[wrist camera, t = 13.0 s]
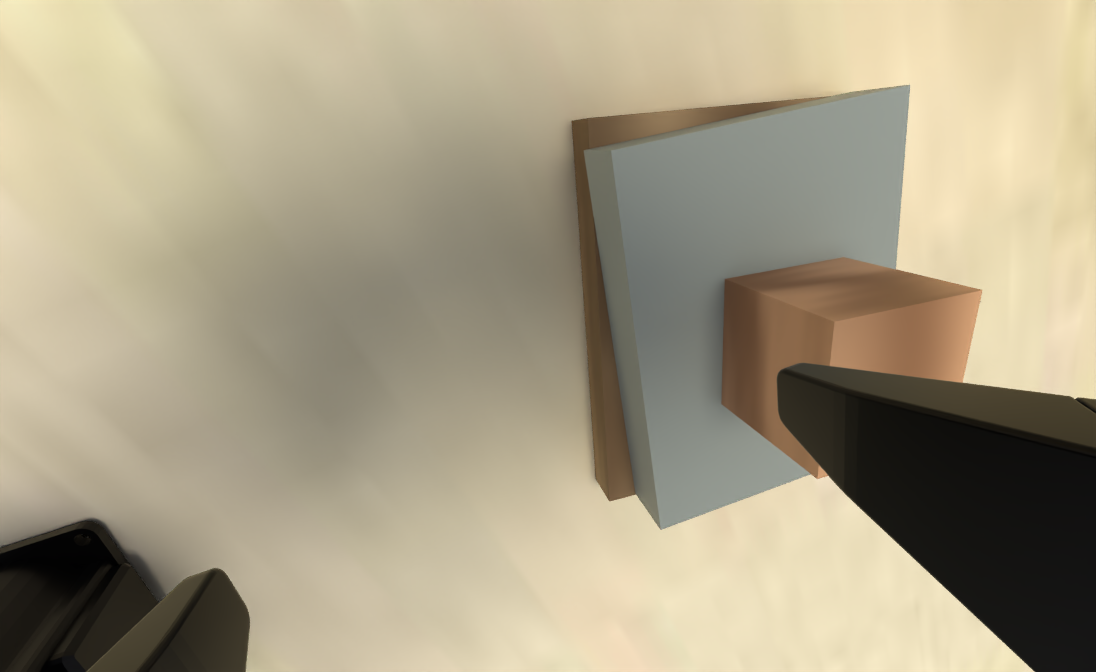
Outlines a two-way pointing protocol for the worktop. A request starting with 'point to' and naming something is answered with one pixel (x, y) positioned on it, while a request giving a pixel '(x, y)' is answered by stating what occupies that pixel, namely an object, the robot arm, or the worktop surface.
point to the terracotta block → (837, 333)
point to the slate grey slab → (728, 269)
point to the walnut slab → (601, 359)
